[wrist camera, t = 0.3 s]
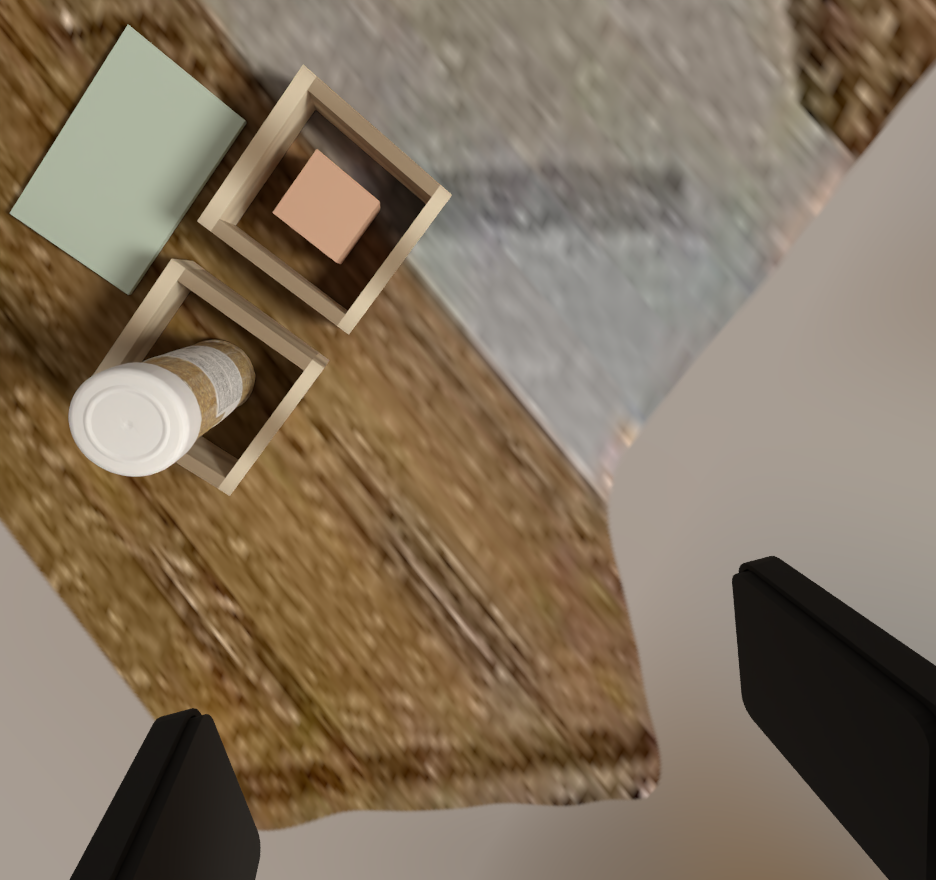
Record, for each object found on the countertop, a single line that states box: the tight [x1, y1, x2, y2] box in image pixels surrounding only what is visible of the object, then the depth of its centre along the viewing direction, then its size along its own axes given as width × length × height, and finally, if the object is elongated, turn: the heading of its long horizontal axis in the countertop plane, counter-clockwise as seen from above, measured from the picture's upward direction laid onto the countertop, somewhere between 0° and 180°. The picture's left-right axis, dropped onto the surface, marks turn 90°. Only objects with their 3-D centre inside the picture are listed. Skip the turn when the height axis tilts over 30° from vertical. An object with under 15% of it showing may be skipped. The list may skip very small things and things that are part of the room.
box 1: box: [197, 65, 452, 335], centre depth 33 cm, size 10×10×4 cm
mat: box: [10, 25, 247, 295], centre depth 32 cm, size 12×7×1 cm, turn 142°
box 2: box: [93, 259, 330, 496], centre depth 34 cm, size 10×10×4 cm
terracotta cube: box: [273, 149, 380, 264], centre depth 32 cm, size 4×4×4 cm
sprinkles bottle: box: [69, 339, 255, 476], centre depth 29 cm, size 5×5×13 cm
